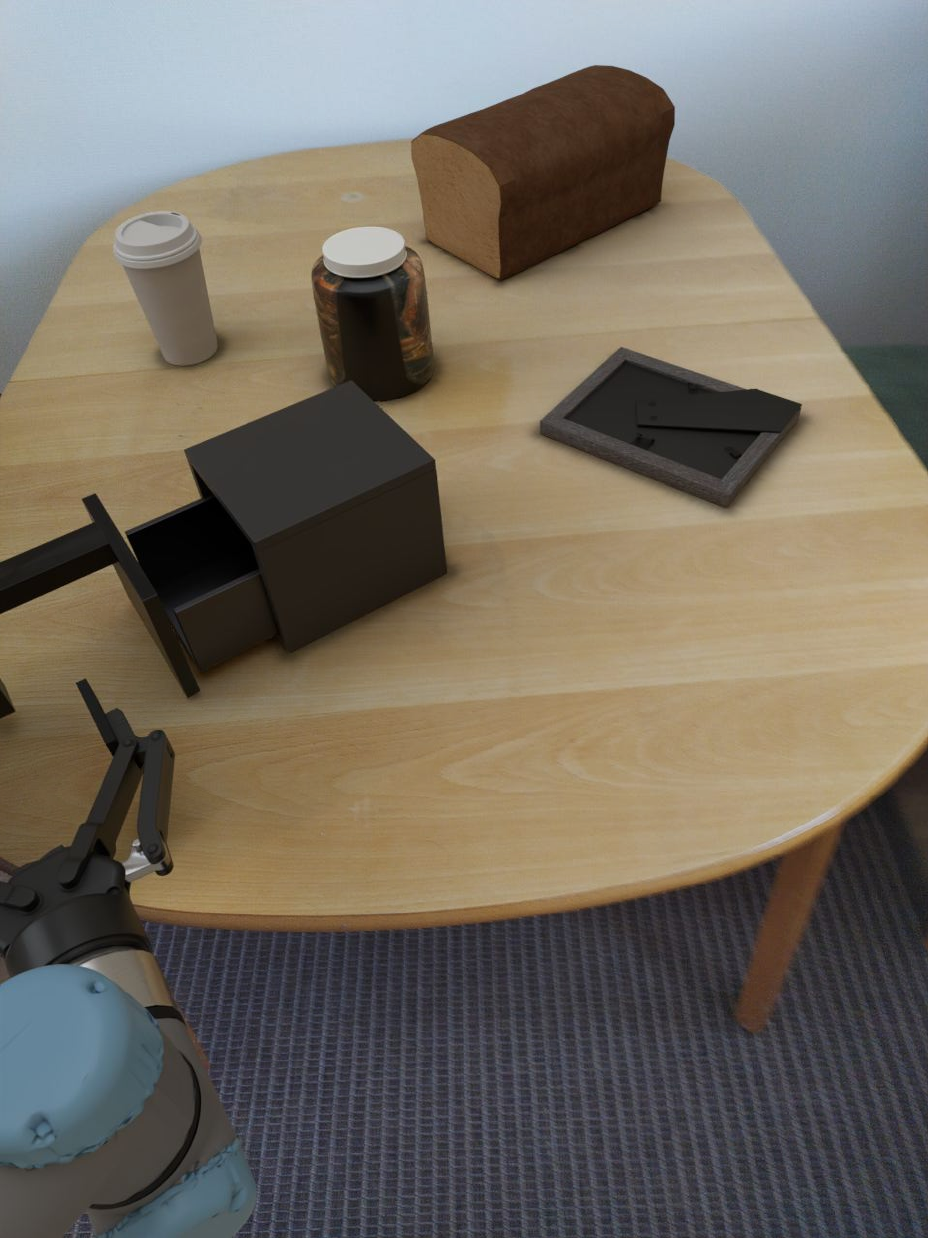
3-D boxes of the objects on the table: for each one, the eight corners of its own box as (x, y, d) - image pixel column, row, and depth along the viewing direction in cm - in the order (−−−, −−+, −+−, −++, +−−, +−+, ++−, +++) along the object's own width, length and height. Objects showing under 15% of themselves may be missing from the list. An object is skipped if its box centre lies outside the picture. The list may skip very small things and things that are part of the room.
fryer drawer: (13, 787, 72) (-71, 680, 62) (-32, 670, 80) (-112, 559, 70) (358, 611, 82) (333, 495, 72) (287, 523, 90) (255, 408, 80)
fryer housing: (288, 654, 80) (254, 543, 70) (222, 560, 88) (183, 449, 78) (447, 573, 85) (435, 459, 75) (371, 491, 93) (351, 379, 84)
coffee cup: (244, 353, 111) (211, 229, 100) (168, 383, 108) (125, 259, 97) (211, 319, 117) (176, 198, 106) (138, 347, 114) (94, 225, 102)
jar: (351, 414, 102) (328, 285, 91) (315, 361, 109) (290, 236, 98) (450, 382, 105) (439, 253, 94) (409, 332, 112) (394, 207, 101)
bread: (669, 207, 129) (682, 78, 117) (504, 288, 118) (500, 154, 106) (577, 168, 139) (580, 46, 127) (416, 239, 127) (403, 112, 115)
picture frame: (798, 420, 97) (619, 358, 106) (802, 403, 95) (621, 343, 104) (726, 508, 89) (539, 433, 98) (729, 491, 87) (539, 417, 96)
